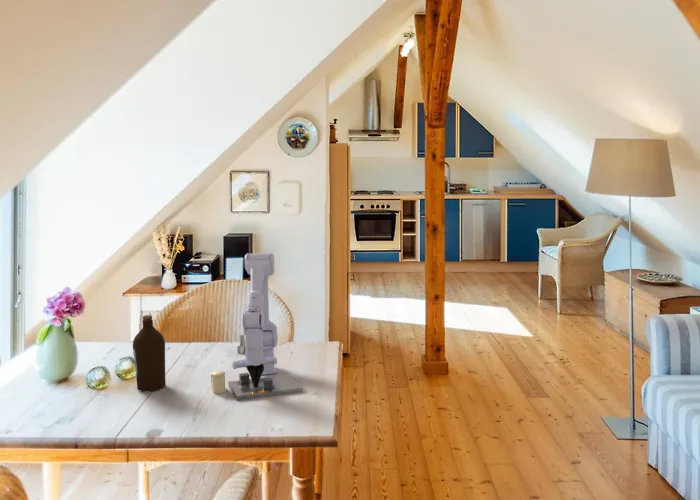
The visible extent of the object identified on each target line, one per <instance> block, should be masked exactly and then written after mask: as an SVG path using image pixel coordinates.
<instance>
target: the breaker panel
mask: <svg viewBox="0 0 700 500" xmlns="http://www.w3.org/2000/svg"><path fill="white" fill-rule="evenodd" d="M264 378H271V379H272V383H273V388H270V389H263V387H262V379H264ZM227 384H228V388H229V389H230V391H231V392H232V394H233V396H234V398H235V400H236V401H244V400H250V399H259V398H265V397H267V398H269V397H273V396H280V395H281V396H282V395H289V394H295V393H296V394H298V393H302V392H303V387H302V385H301V384H300V383H299V381H298V380H296V378H295V377H294V376H293V375H292V374H291V373H289V374H280V375H272V376H271V375H270V376H264V377H262V376H261V377H260V380H259V385H258V388H254V387H253V383H252V380H251V378H250V383H244V384H241V383H240V382H239V380H232V381H231V380H230V381H228V383H227Z"/></svg>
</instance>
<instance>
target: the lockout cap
mask: <svg viewBox="0 0 700 500" xmlns="http://www.w3.org/2000/svg"><path fill="white" fill-rule="evenodd" d="M210 380H211V381H210V382H211V391H212V393H213V394H219V393H222V394H223V393H226V389H227V388H226V373H225V371H224V370H214V371H211V372H210Z"/></svg>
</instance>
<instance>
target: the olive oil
mask: <svg viewBox="0 0 700 500" xmlns="http://www.w3.org/2000/svg"><path fill="white" fill-rule="evenodd" d="M132 350H133V351H132V353H133V359H134V361H133V362H134V369H135V376H136V377H135V379H136V380H135V381H136V388H137V390H138V391H140V390H141V391H140V392H144V391H151V392H156V390H157V391H160V389H161V390H162V389H165V387H166V340H165V337H164V336H163V335H162V333H161V332H159V330H157V328H155V327H154V321H153V315H150V314H148V315H147V314H146V315H143V316H142V327H141V329H140V330H139V331H138V333H137V334H136V335H135V336H134V338H133V341H132Z"/></svg>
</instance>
